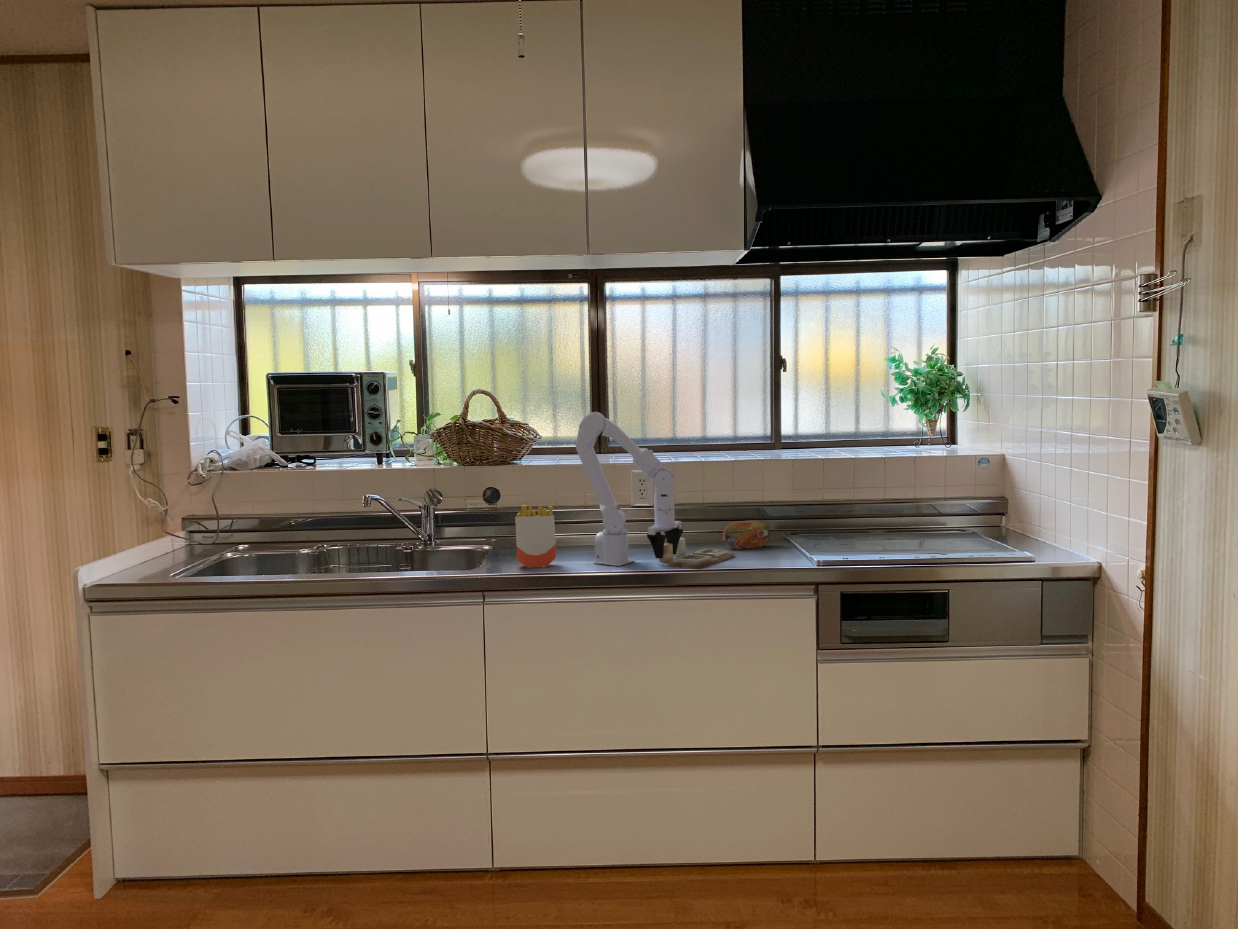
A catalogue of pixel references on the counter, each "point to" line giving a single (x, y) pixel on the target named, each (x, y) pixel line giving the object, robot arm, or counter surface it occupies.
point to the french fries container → (535, 536)
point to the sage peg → (680, 548)
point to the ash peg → (667, 553)
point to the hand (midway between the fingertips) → (665, 556)
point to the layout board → (701, 558)
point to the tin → (746, 534)
